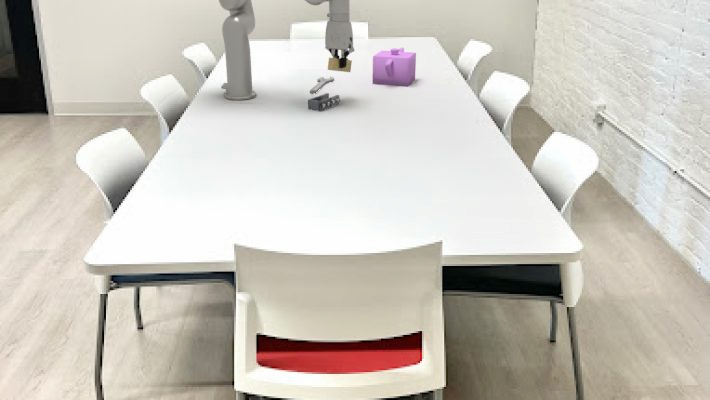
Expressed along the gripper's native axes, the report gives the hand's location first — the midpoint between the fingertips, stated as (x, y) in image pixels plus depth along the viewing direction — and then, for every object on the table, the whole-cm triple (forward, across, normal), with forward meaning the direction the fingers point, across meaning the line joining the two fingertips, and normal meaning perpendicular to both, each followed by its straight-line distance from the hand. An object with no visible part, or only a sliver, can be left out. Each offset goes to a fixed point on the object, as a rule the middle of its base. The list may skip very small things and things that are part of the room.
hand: (339, 66), depth 286 cm
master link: (+2, 0, 0) cm, 2 cm away
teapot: (+14, +1, +40) cm, 42 cm away
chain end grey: (+13, 0, -7) cm, 15 cm away
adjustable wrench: (+14, -20, +14) cm, 29 cm away
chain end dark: (+13, 0, -14) cm, 19 cm away
